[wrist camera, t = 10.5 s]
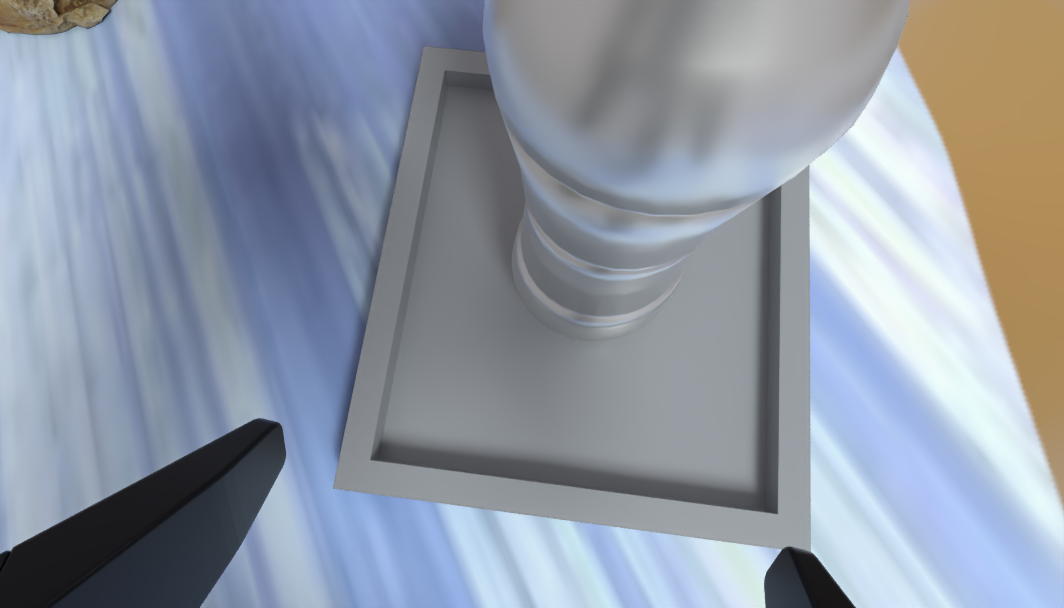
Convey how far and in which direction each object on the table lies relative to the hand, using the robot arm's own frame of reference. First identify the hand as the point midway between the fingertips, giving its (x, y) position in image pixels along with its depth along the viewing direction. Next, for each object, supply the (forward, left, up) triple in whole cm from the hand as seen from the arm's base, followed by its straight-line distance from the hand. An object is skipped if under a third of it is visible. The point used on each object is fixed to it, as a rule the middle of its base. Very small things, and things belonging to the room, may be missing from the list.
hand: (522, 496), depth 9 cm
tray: (+8, -2, -13) cm, 15 cm away
